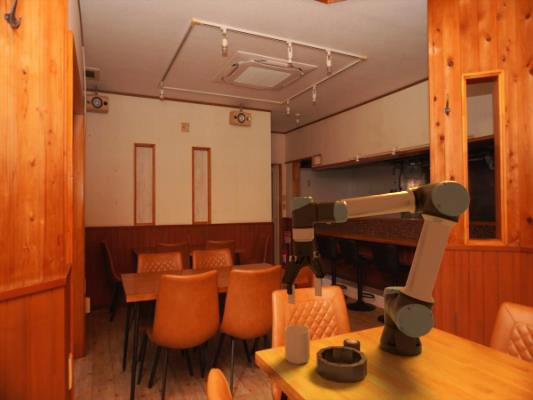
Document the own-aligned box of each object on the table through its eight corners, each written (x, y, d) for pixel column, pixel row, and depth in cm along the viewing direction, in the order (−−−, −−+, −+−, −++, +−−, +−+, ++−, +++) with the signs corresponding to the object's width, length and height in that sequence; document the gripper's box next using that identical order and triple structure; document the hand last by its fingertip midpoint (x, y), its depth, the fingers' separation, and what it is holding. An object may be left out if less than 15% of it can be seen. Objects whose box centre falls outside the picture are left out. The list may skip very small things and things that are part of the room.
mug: (310, 365, 125) (310, 333, 125) (284, 365, 126) (284, 333, 126) (309, 351, 137) (308, 321, 137) (285, 350, 138) (285, 321, 138)
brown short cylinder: (358, 352, 136) (358, 338, 136) (362, 359, 130) (361, 344, 130) (342, 352, 136) (342, 338, 136) (345, 359, 130) (345, 344, 130)
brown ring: (359, 360, 129) (359, 345, 129) (371, 382, 113) (371, 366, 113) (314, 360, 129) (314, 345, 129) (320, 382, 113) (320, 366, 114)
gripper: (318, 236, 141) (320, 291, 141) (270, 242, 125) (272, 304, 125) (334, 237, 135) (336, 294, 135) (285, 244, 119) (287, 309, 119)
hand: (305, 299), depth 130 cm, fingers open, 13 cm apart
